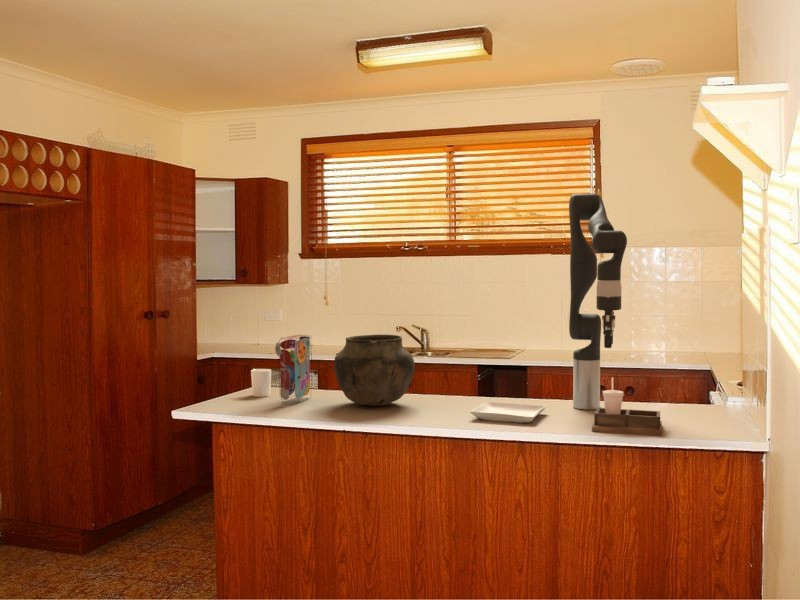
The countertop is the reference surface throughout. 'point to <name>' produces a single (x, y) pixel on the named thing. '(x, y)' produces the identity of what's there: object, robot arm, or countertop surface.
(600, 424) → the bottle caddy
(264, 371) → the white cup
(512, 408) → the salad plate
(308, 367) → the box
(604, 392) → the smoothie
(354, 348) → the pot
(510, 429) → the countertop surface
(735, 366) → the countertop surface
